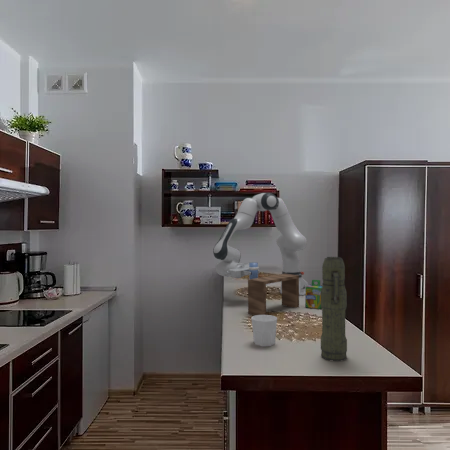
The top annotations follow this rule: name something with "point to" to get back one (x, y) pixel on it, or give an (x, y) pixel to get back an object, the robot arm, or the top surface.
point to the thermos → (333, 310)
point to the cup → (264, 329)
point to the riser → (259, 292)
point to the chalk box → (313, 295)
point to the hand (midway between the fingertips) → (254, 272)
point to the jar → (253, 270)
